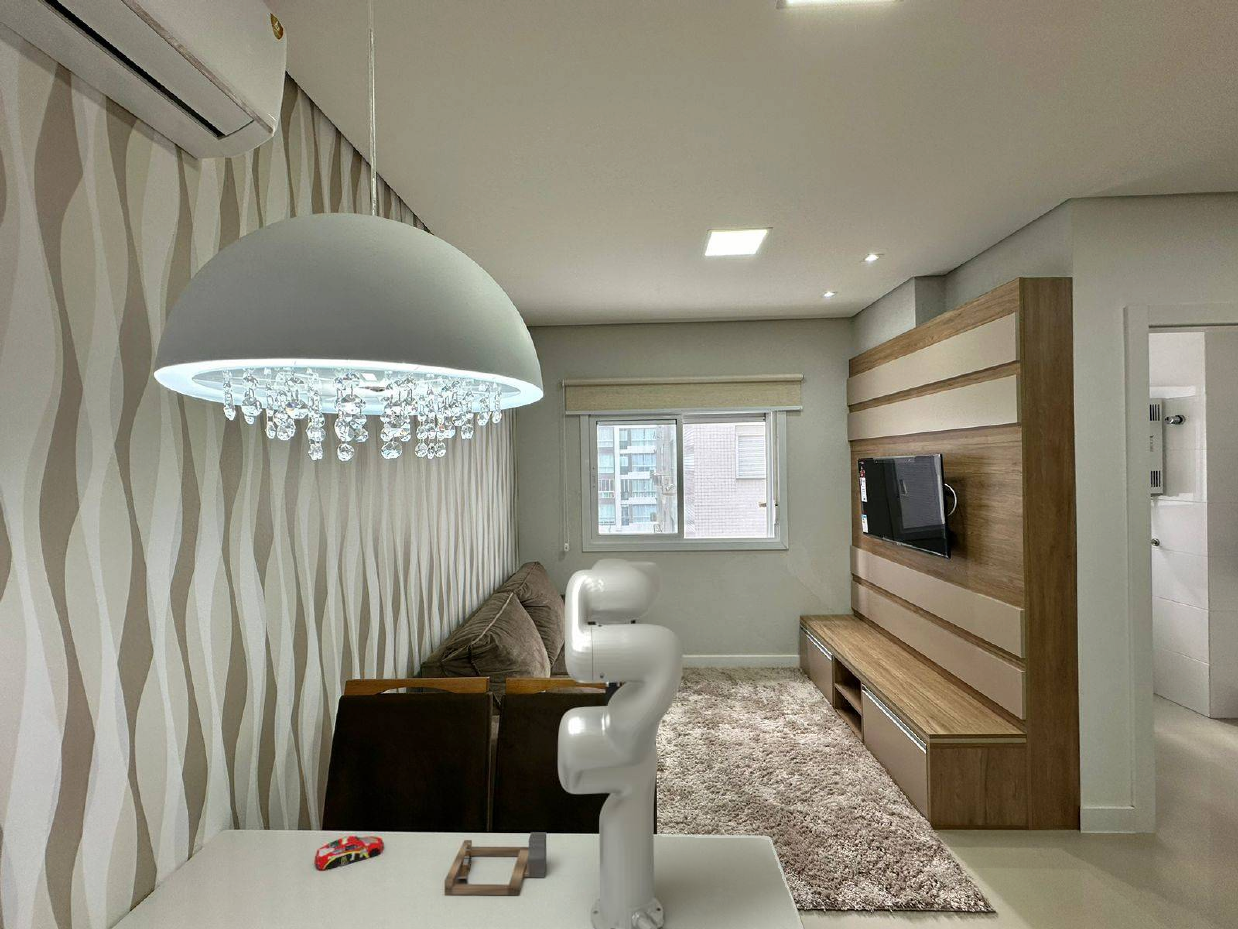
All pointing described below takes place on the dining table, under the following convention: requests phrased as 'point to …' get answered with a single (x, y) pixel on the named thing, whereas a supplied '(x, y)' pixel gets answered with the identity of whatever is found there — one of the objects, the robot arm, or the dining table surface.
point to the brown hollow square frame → (525, 854)
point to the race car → (348, 851)
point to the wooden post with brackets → (466, 865)
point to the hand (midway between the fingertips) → (613, 698)
